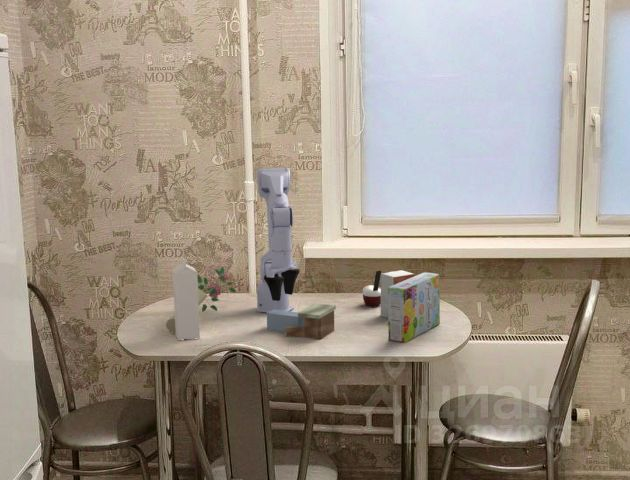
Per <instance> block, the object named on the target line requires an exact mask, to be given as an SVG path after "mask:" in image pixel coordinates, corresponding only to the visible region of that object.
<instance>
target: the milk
mask: <svg viewBox="0 0 630 480" xmlns="http://www.w3.org/2000/svg"><path fill="white" fill-rule="evenodd" d="M197 278H198V271H197V270H196V268H195V267H193V266H192V265H189V264H187V261H186V259H185V258H184V257H182V263H180V264H179V265H177V266H176V267H174V268H173V269H172V283H173V287H172V288H173V303H174V304H173V305H174V307H173V308H174V314H175V330H176V334H175V336H176V338H178V339H177V341H178V340H182V339H192V340H196V339H195V338H200V339H201V334H200V333H201V331H200V330H201V329H200V309H199V307H200V305H198V286H199V283H198V279H197ZM182 341H183V340H182Z"/></svg>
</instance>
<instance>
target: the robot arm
mask: <svg viewBox="0 0 630 480" xmlns="http://www.w3.org/2000/svg"><path fill="white" fill-rule="evenodd" d="M290 171H291V170H290V168H289V167H274V168H273V167H272V168H258V169H257V171H256V172H257V173H256V178H257V180H256V181H257V193H258V196H259V197H262V198H263V199H264V201H265V204H266V213H267V216H266V217H267V239H268V241H267V243H268V251H267V252H265V253H264V254H263V255H262V256H261V258H260V259H259V260H260V265H259V266H260V267H259V269H260V270H259V271H260V273H259V275H260V280H261V281H260V282H259V283H258V285H257V288H256V302H257V303H256V306H257V307H256V311H255V312H260V313H266V314H267V313H268V312H270V311H272V310H281V311H290V312H291V310H294V309H295V306H290V297H289V296H290V295H291V296H292V295H293V294H294V293H293V292H294V290H295V289H294V288H295V285H296V280H297V278H298V275H299V274H300V272H301V271H300V269H299V268H297V265H298V263H297V262H298V261H297V260H293V253H292V251H293V249H292V248H293V246H292V228H293V227H294V226H293V225H294V212H293V207H292V206H291V205H290V204H289V203H290V202H289V198H288V195H289V192H290V187H291V172H290Z"/></svg>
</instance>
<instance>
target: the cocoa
mask: <svg viewBox="0 0 630 480" xmlns="http://www.w3.org/2000/svg"><path fill="white" fill-rule="evenodd" d="M381 274H382V271H381V270H377V271H375V277H374V282H373V285H372V284H371V285H366V286H364V288H363V287H362V298H363V303H364V304H365V305H366V306H368V307H369V306H371V308H376V307H375V306H377V307H378V306H381V287H379V286H380V283H381Z"/></svg>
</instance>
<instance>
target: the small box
mask: <svg viewBox="0 0 630 480" xmlns="http://www.w3.org/2000/svg"><path fill="white" fill-rule="evenodd" d="M414 276H415V273H412V272H409V271H405V270H402V269H401V270H395V271H389V272H384V273H382V272H381V276H380V289H381V304H380V316H383V317H385V318H388V287H390V286H392V285H395V284H397V283H400V282H402V281H405V280H407V279H409V278H412V277H414Z"/></svg>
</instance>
